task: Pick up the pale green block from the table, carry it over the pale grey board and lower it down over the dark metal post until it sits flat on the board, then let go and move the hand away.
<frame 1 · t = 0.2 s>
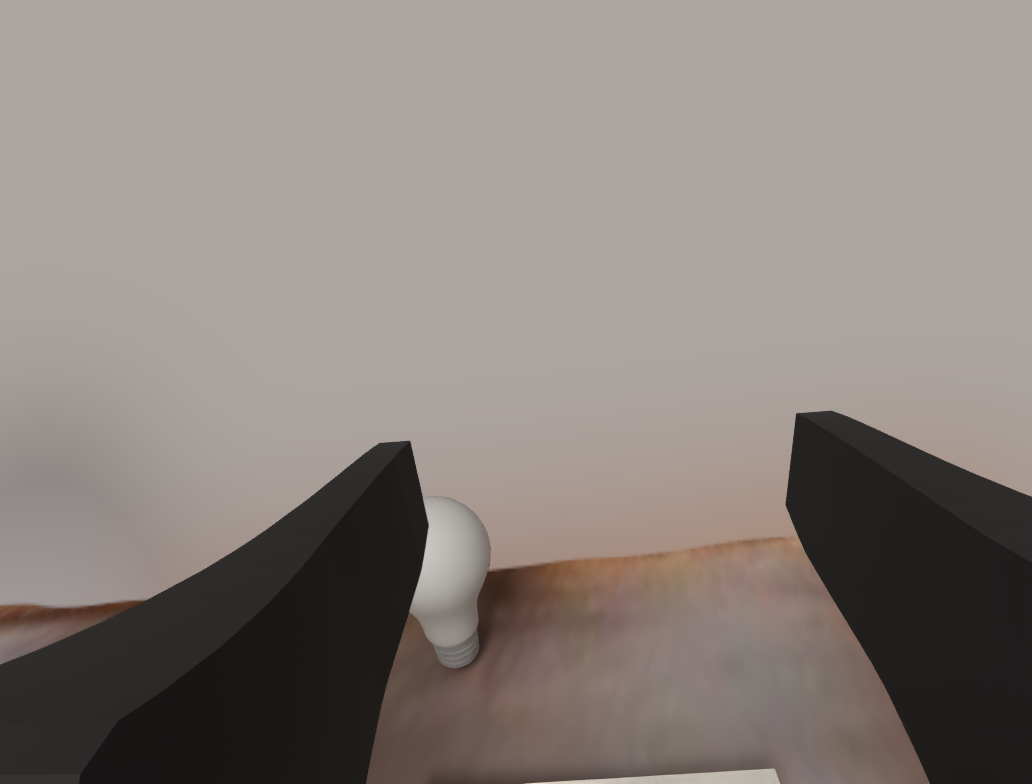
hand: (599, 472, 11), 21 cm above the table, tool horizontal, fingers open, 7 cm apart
lightbulb: (461, 661, 34), on the table
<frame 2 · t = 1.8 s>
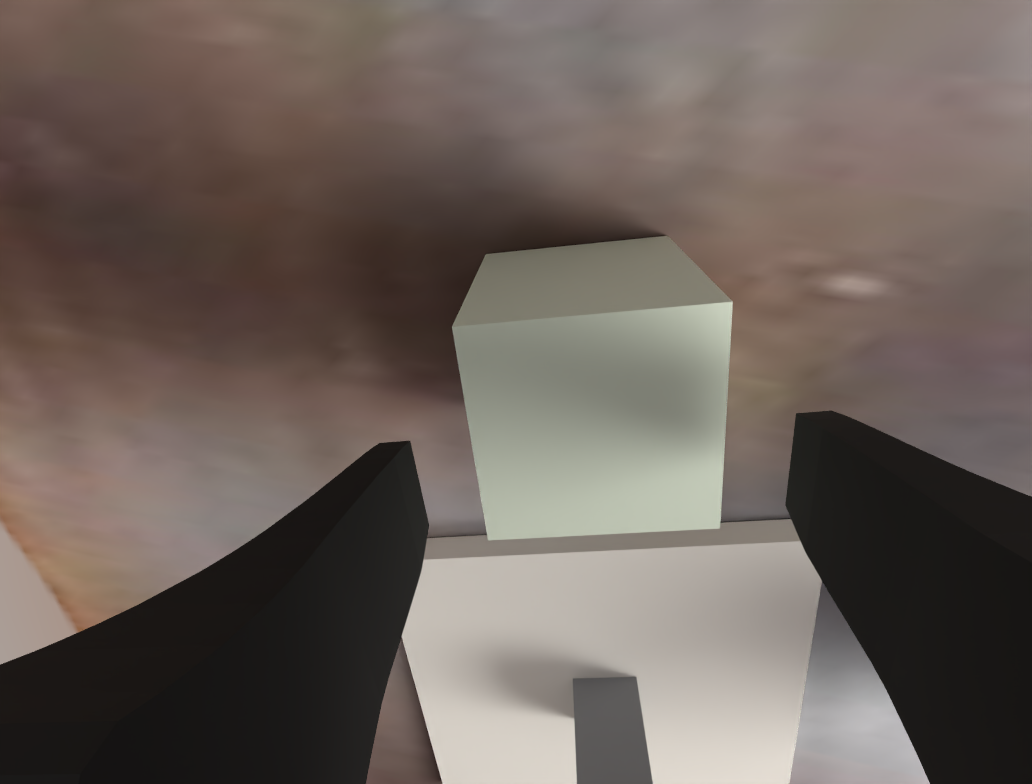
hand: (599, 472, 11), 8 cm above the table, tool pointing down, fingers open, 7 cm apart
post board: (603, 673, 25), on the table
pale green block: (580, 330, 18), on the table
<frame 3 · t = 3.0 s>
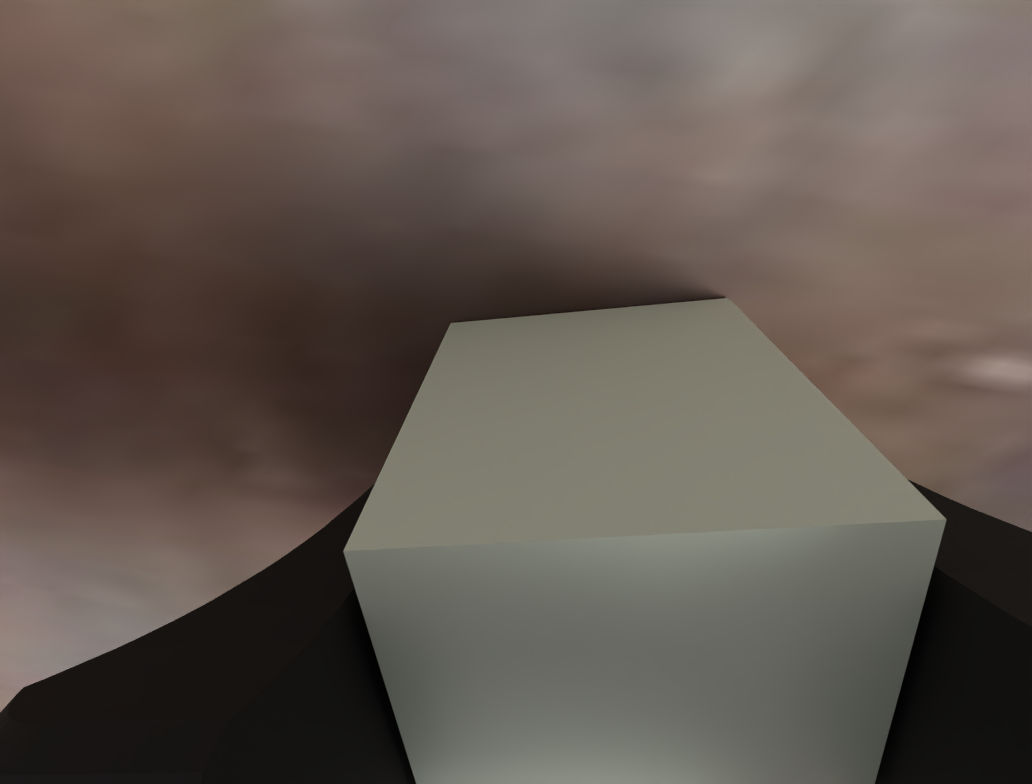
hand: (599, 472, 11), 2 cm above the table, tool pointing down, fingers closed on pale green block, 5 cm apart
pale green block: (593, 430, 12), on the table, touching gripper
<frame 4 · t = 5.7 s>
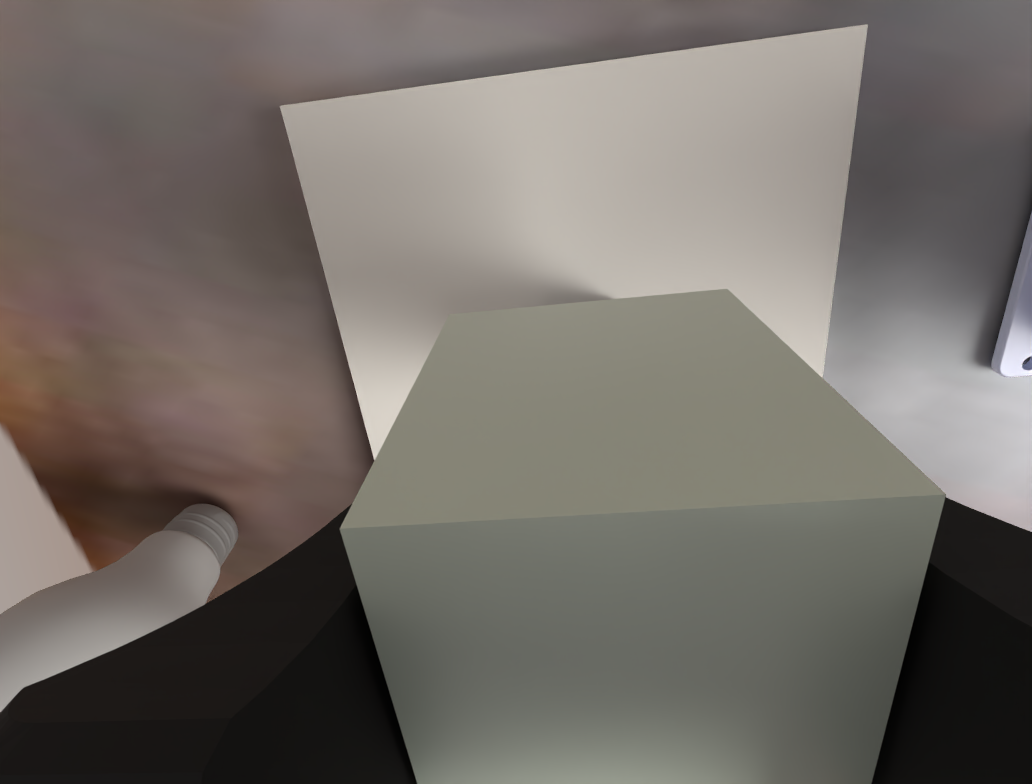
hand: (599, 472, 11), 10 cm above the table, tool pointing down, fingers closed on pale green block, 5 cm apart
post board: (577, 328, 20), on the table
lightbulb: (221, 512, 25), on the table
pale green block: (592, 422, 12), point 8 cm above the table, touching gripper
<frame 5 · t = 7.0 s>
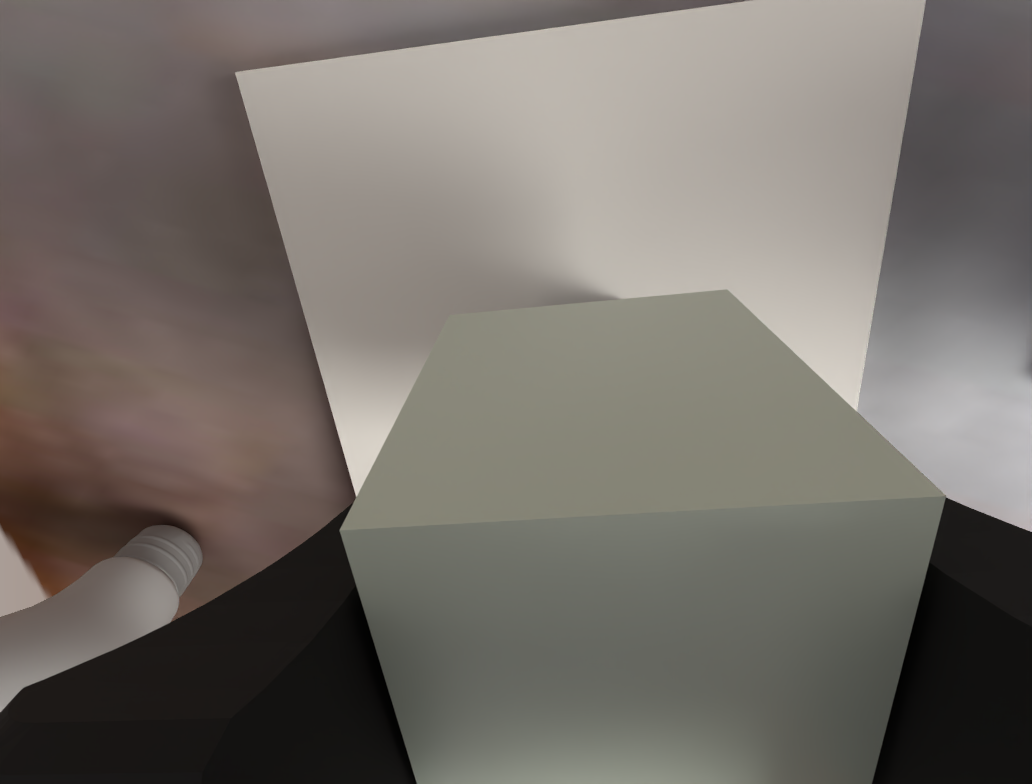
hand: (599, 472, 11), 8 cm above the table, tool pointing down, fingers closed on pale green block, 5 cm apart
post board: (580, 334, 18), on the table
lightbulb: (184, 533, 22), on the table
pale green block: (592, 423, 12), point 6 cm above the table, touching gripper
when the fingers open (4 cm above the table, at t = 8.4 s): pale green block stays where it is, resting on post board.
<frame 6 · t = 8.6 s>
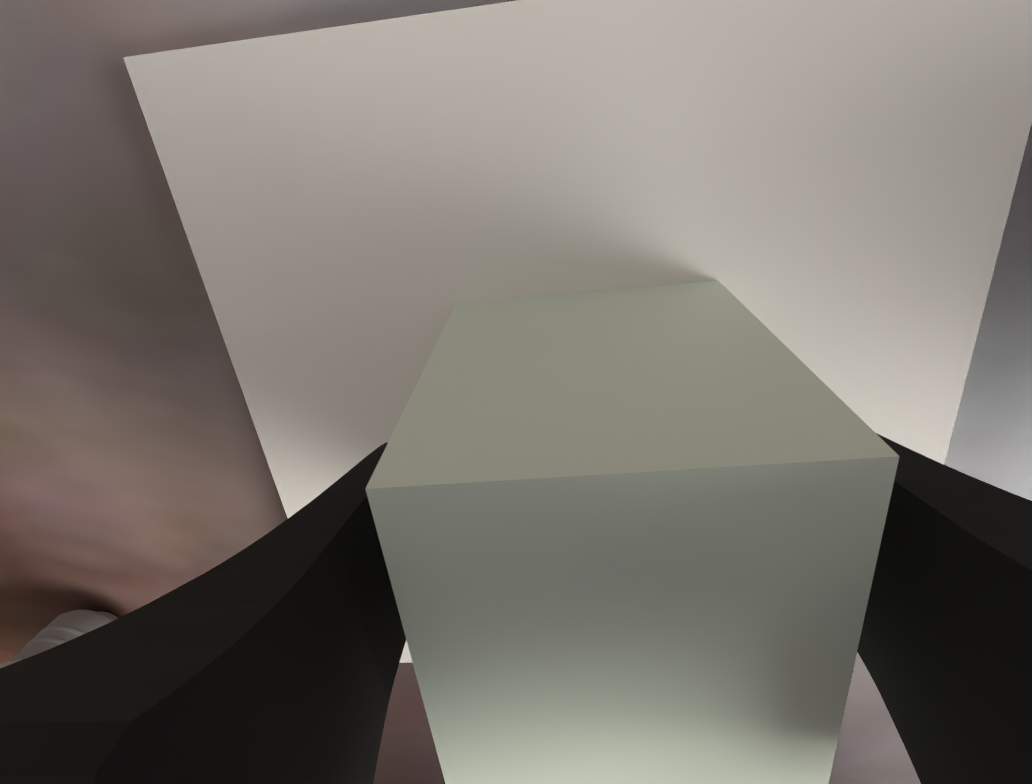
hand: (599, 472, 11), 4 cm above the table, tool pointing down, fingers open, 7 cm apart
post board: (587, 390, 14), on the table
lightbulb: (113, 614, 19), on the table
pale green block: (590, 407, 13), point 1 cm above the table, touching post board
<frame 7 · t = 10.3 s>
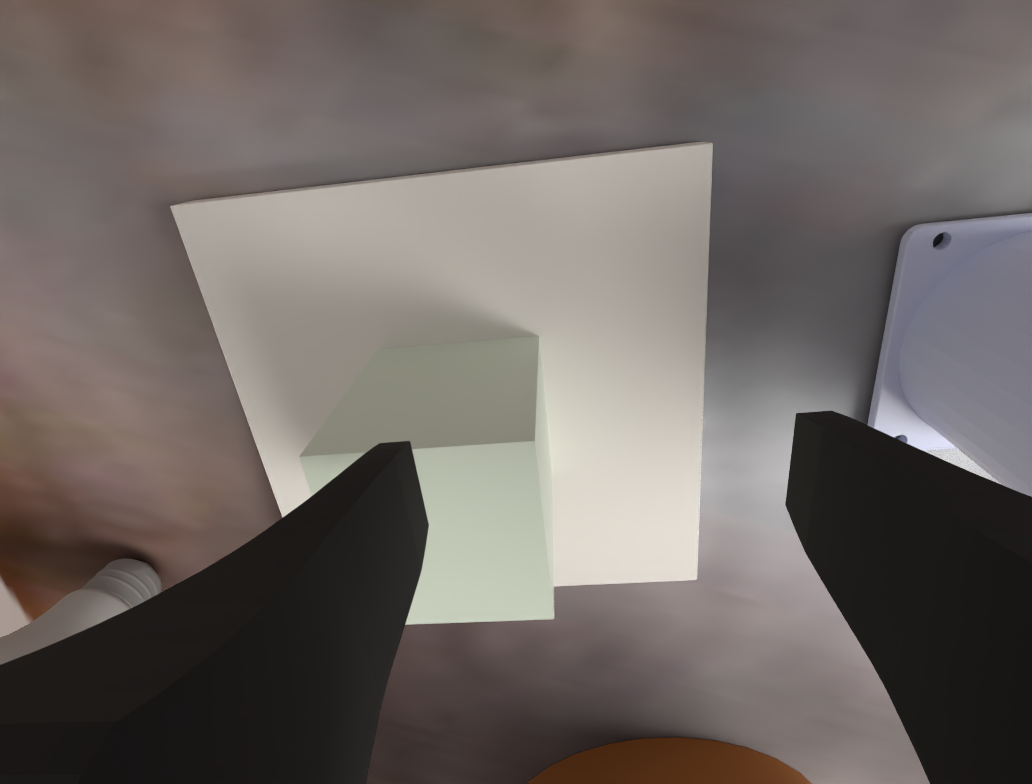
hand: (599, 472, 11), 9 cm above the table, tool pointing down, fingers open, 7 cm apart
post board: (473, 402, 21), on the table
lightbulb: (147, 564, 26), on the table
pale green block: (468, 414, 20), point 1 cm above the table, touching post board
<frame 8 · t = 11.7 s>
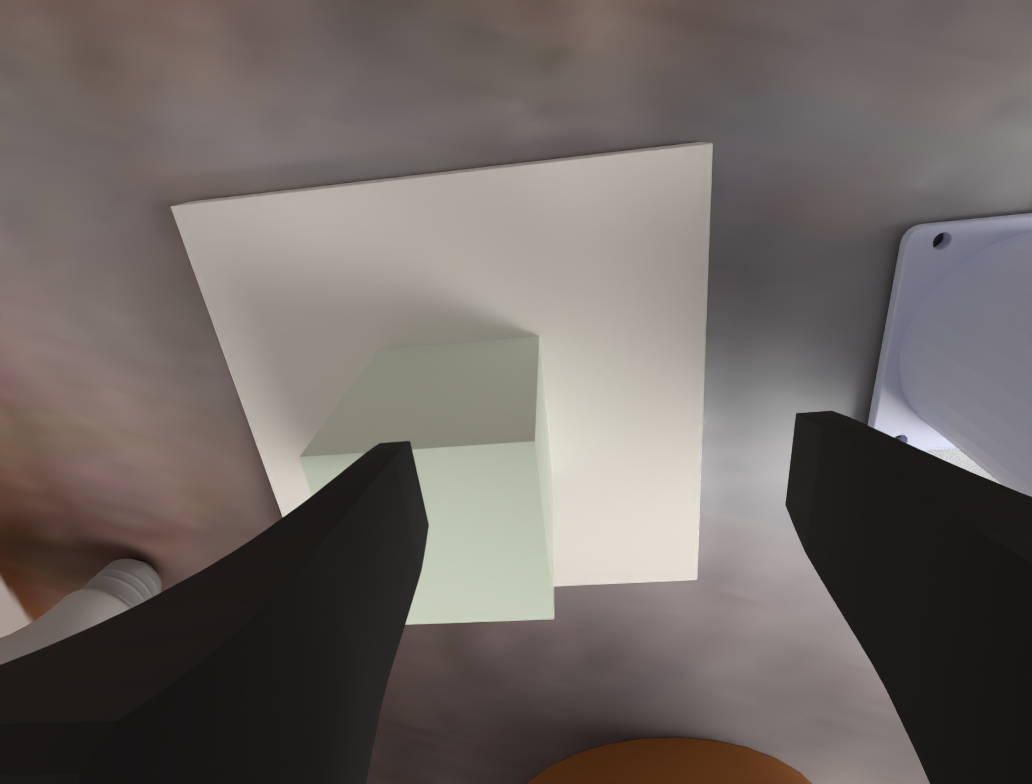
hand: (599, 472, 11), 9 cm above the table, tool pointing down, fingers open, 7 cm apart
post board: (473, 402, 21), on the table
lightbulb: (147, 564, 26), on the table
pale green block: (469, 415, 20), point 1 cm above the table, touching post board
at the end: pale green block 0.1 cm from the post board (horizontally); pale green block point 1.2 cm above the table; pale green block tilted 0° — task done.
